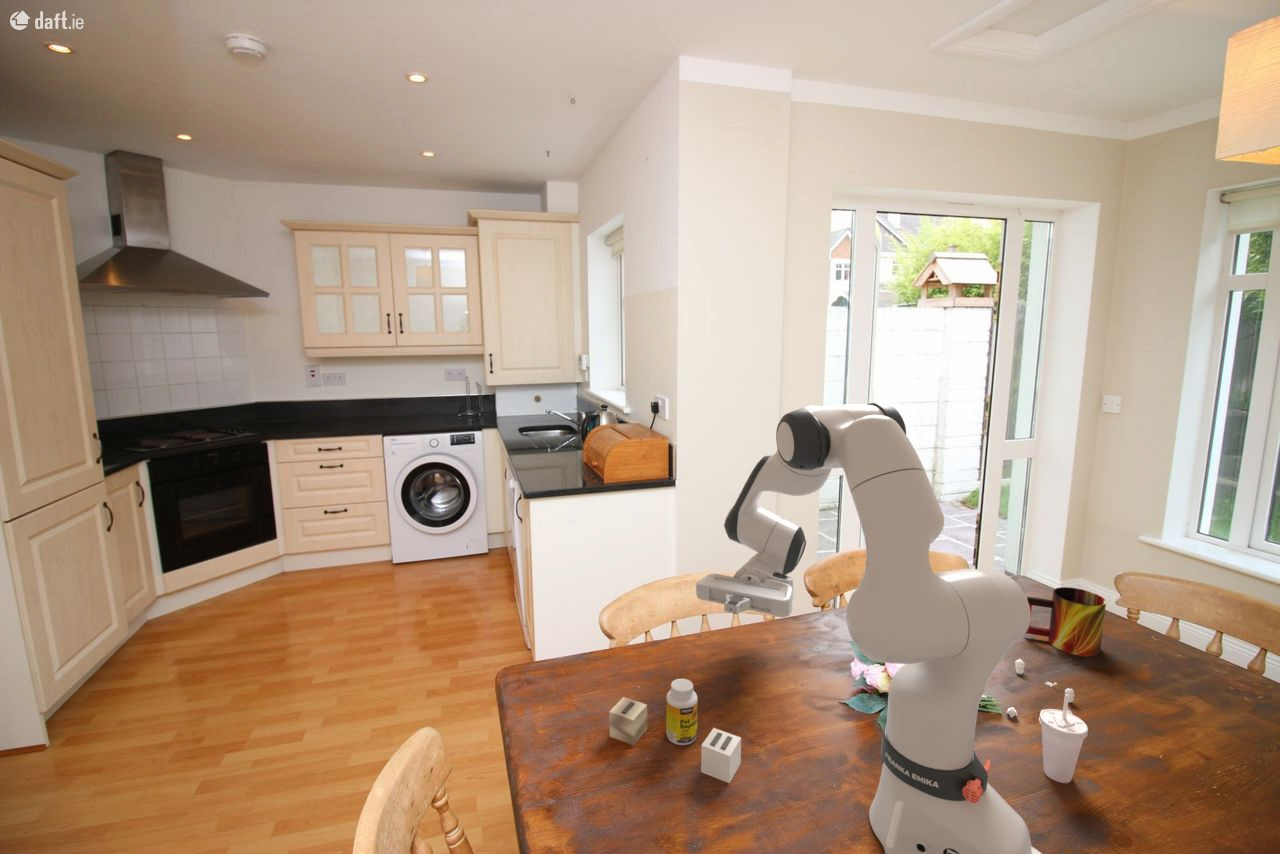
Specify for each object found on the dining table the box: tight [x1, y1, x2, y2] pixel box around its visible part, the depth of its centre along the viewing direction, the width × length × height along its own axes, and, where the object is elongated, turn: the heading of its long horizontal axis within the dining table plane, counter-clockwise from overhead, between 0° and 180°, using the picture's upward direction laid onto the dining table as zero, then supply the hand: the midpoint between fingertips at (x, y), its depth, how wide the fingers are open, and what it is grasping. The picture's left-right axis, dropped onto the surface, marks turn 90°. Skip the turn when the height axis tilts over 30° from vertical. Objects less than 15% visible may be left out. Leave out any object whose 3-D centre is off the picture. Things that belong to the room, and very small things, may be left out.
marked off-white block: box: [700, 727, 742, 784], centre depth 98 cm, size 5×5×5 cm
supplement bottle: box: [665, 678, 698, 746], centre depth 105 cm, size 6×6×10 cm
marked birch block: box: [608, 696, 648, 747], centre depth 107 cm, size 5×5×5 cm
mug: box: [1025, 586, 1107, 658], centre depth 134 cm, size 10×14×12 cm
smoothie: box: [1038, 693, 1089, 784], centre depth 95 cm, size 6×6×14 cm
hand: (730, 609), depth 116 cm, fingers closed
